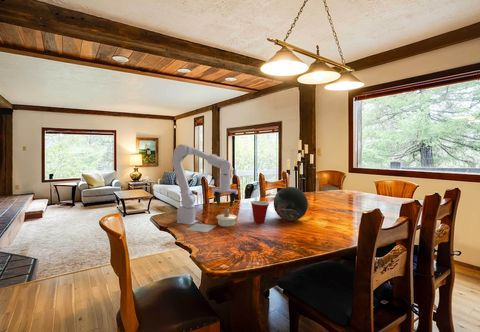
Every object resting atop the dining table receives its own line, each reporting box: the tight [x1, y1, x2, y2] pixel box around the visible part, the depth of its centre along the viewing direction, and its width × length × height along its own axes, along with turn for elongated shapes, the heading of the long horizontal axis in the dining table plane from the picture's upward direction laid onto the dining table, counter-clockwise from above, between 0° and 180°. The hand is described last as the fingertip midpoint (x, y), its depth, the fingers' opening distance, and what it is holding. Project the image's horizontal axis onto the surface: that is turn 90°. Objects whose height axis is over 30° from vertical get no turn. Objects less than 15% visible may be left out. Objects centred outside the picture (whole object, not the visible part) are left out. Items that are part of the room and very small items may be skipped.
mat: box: [185, 223, 217, 233], centre depth 139 cm, size 12×12×1 cm
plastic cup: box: [250, 200, 270, 225], centre depth 151 cm, size 11×11×12 cm
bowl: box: [217, 219, 236, 227], centre depth 146 cm, size 9×9×4 cm
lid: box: [216, 208, 238, 221], centre depth 146 cm, size 11×11×5 cm
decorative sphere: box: [273, 186, 309, 222], centre depth 157 cm, size 20×20×20 cm
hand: (224, 205), depth 149 cm, fingers open, 7 cm apart
